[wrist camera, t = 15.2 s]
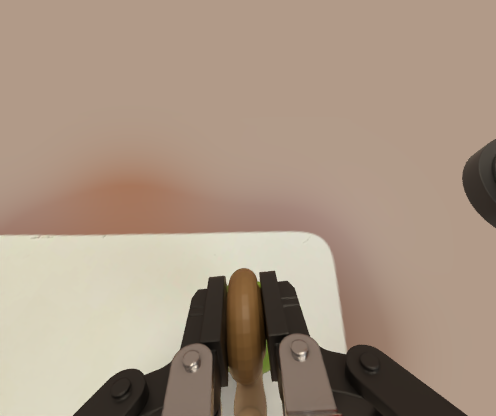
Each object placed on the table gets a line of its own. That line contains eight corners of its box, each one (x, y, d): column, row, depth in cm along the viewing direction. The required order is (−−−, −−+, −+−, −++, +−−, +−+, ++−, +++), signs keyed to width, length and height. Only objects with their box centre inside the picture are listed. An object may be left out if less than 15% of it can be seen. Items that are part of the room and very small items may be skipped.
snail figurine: (213, 388, 17) (137, 516, 6) (210, 288, 20) (153, 251, 9) (294, 380, 17) (364, 492, 6) (280, 282, 20) (313, 236, 9)
